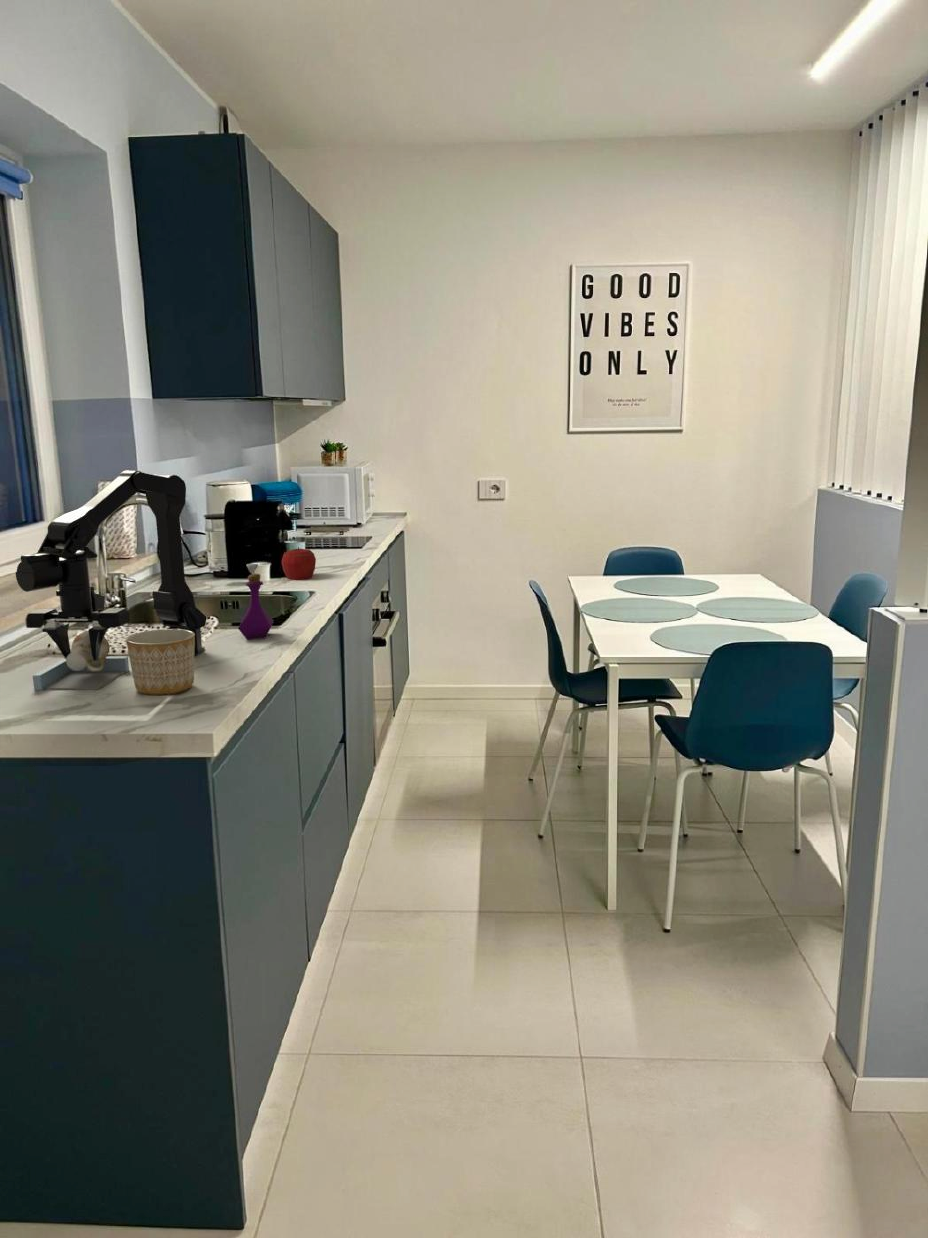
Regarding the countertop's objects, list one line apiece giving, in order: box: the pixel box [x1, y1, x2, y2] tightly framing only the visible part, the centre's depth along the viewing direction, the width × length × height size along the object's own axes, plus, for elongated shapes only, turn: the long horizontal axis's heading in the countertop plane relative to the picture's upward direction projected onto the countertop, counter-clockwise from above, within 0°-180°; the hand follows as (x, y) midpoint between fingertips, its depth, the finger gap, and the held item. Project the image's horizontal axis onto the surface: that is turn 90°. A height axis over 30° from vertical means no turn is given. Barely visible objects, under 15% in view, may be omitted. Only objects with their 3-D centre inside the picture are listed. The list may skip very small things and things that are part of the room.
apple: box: [281, 546, 317, 581], centre depth 295 cm, size 11×11×12 cm
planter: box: [125, 628, 195, 696], centre depth 182 cm, size 13×13×10 cm
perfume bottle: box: [237, 563, 274, 640], centre depth 221 cm, size 8×8×18 cm
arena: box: [32, 656, 130, 691], centre depth 189 cm, size 13×14×3 cm
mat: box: [45, 671, 125, 691], centre depth 188 cm, size 11×12×1 cm
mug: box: [66, 630, 111, 671], centre depth 189 cm, size 8×10×10 cm
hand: (82, 660), depth 187 cm, fingers closed on mug, 5 cm apart
